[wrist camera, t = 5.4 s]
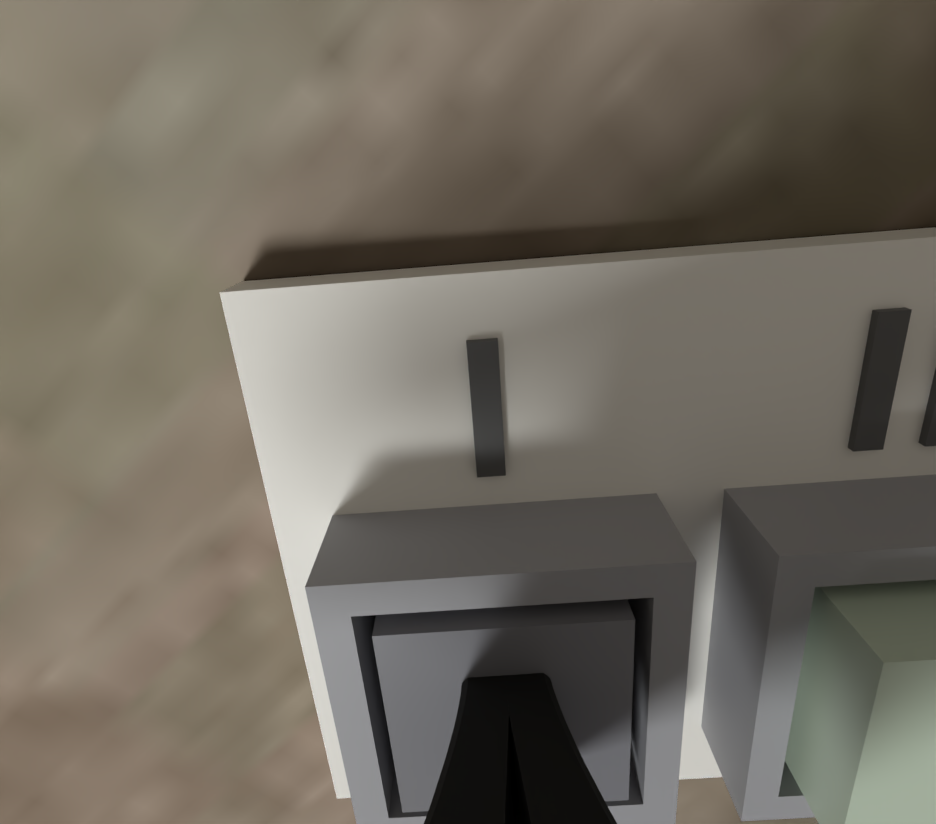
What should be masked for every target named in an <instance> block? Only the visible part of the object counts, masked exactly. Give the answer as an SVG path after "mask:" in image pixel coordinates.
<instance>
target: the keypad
mask: <svg viewBox="0 0 936 824" xmlns="http://www.w3.org/2000/svg"><path fill="white" fill-rule="evenodd" d="M220 297H221V301H222V305H223V310H224V314H225V318H226V323H227V327H228V331H229V335H230V340H231V344H232V348H233V353H234V357H235V361H236V366H237V370H238V374H239V379H240V383H241V387H242V391H243V396H244V400H245V404H246V409H247V413H248V417H249V422H250V426H251V430H252V435H253V439H254V443H255V447H256V452H257V456H258V460H259V465H260V469H261V473H262V478H263V482H264V486H265V491H266V495H267V499H268V503H269V508H270V512H271V516H272V521H273V525H274V529H275V534H276V538H277V542H278V547H279V551H280V555H281V559H282V564H283V568H284V572H285V577H286V581H287V585H288V590H289V594H290V598H291V603H292V607H293V611H294V616H295V620H296V624H297V628H298V633H299V637H300V641H301V646H302V650H303V654H304V659H305V663H306V667H307V672H308V676H309V680H310V684H311V689H312V693H313V697H314V702H315V706H316V710H317V715H318V719H319V723H320V728H321V732H322V736H323V740H324V745H325V749H326V753H327V758H328V762H329V766H330V771H331V775H332V779H333V784H334V788H335V792H336V796H337V798H351V800H352V805H353V809H354V814H355V818H356V823H357V824H424V821H425V819H426V816H427V813H428V811H422V812H404V813H403V812H402V806H401V801H400V795H399V789H398V783H397V778H396V772H395V766H394V760H393V755H392V749H391V743H390V737H389V732H388V726H387V720H386V714H385V709H384V703H383V697H382V691H381V686H380V680H379V674H378V668H377V663H376V657H375V651H374V645H373V640H372V633H373V628H374V623H375V618H376V615H385V614H401V613H417V612H432V611H448V610H464V609H480V608H496V607H511V606H527V605H543V604H559V603H574V602H590V601H606V600H622V599H628V602H629V605H630V607H631V610H632V613H633V615H634V618H635V640H634V667H633V694H632V721H631V748H630V775H629V800H622V801H605V802H606V804H607V806H608V808H609V810H610V812H611V813H612V815H613V817H614V819H615V821H616V822H617V824H675V820H676V808H677V796H678V784H679V779H696V778H714V777H723V779H724V782H725V784H726V786H727V789H728V791H729V793H730V796H731V798H732V800H733V803H734V805H735V808H736V810H737V812H738V815H739V817H740V819H741V821H754V820H773V819H791V818H810V817H815V816H814V814H813V812H812V810H811V808H810V807H809V805H808V803H807V801H806V799H805V797H804V795H803V794H802V792H801V790H800V788H799V786H798V784H797V782H796V781H795V779H794V777H793V775H792V773H791V771H790V769H789V768H788V766H787V764H786V762H785V756H786V751H787V745H788V739H789V733H790V728H791V722H792V716H793V711H794V705H795V699H796V693H797V688H798V682H799V676H800V670H801V665H802V659H803V653H804V648H805V642H806V636H807V630H808V625H809V619H810V613H811V608H812V602H813V596H814V590H815V587H827V586H843V585H859V584H874V583H890V582H906V581H922V580H936V227H932V228H919V229H906V230H893V231H880V232H867V233H855V234H842V235H829V236H816V237H803V238H791V239H778V240H765V241H752V242H739V243H726V244H714V245H701V246H688V247H675V248H662V249H650V250H637V251H624V252H611V253H598V254H585V255H573V256H560V257H547V258H534V259H521V260H509V261H496V262H483V263H470V264H457V265H444V266H432V267H419V268H406V269H393V270H380V271H368V272H355V273H342V274H329V275H316V276H303V277H291V278H278V279H265V280H252V281H242V282H240V283H238V284H236V285H234V286H232V287H230V288H228V289H226V290H223V291H221V292H220Z"/></svg>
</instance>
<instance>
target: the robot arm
mask: <svg viewBox="0 0 936 824" xmlns="http://www.w3.org/2000/svg"><path fill="white" fill-rule="evenodd" d="M424 824H617V822H616V821H615V819H614V817H613V815H612V813H611V812H610V810H609V808H608V806H607V804H606V802H605V800H604V799H603V797H602V795H601V793H600V791H599V789H598V787H597V785H596V783H595V781H594V779H593V778H592V776H591V774H590V772H589V770H588V768H587V766H586V764H585V762H584V760H583V758H582V756H581V754H580V752H579V750H578V747H577V745H576V743H575V741H574V739H573V736H572V734H571V732H570V730H569V728H568V725H567V723H566V721H565V718H564V716H563V713H562V711H561V708H560V706H559V703H558V700H557V698H556V695H555V692H554V689H553V686H552V682H551V679H550V678H549V677H548V676H547V675H546V674H544V673H534V674H519V675H503V676H486V677H469V678H467V679H466V680H465V681H464V682H463V683H462V686H461V695H460V701H459V706H458V711H457V716H456V720H455V725H454V729H453V733H452V736H451V740H450V744H449V747H448V751H447V755H446V758H445V761H444V764H443V768H442V771H441V774H440V777H439V780H438V783H437V786H436V789H435V792H434V796H433V799H432V802H431V805H430V808H429V810H428V813H427V816H426V819H425V821H424Z"/></svg>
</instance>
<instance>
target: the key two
mask: <svg viewBox="0 0 936 824" xmlns="http://www.w3.org/2000/svg"><path fill="white" fill-rule="evenodd" d="M785 762H786V764H787V766H788V768H789V769H790V771H791V773H792V775H793V777H794V779H795V781H796V782H797V784H798V786H799V788H800V790H801V792H802V794H803V795H804V797H805V799H806V801H807V803H808V805H809V807H810V808H811V810H812V812H813V814H814V816H815V818H816V819H817V821H818V823H819V824H936V580H922V581H906V582H890V583H874V584H859V585H843V586H827V587H815V590H814V596H813V602H812V608H811V613H810V619H809V625H808V630H807V636H806V642H805V648H804V653H803V659H802V665H801V670H800V676H799V682H798V688H797V693H796V699H795V705H794V711H793V716H792V722H791V728H790V733H789V739H788V745H787V751H786V756H785Z"/></svg>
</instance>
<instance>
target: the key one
mask: <svg viewBox="0 0 936 824" xmlns="http://www.w3.org/2000/svg"><path fill="white" fill-rule="evenodd" d="M372 640H373V645H374V651H375V657H376V663H377V668H378V674H379V680H380V686H381V691H382V697H383V703H384V709H385V714H386V720H387V726H388V732H389V737H390V743H391V749H392V755H393V760H394V766H395V772H396V778H397V783H398V789H399V795H400V801H401V806H402V812H403V813H404V812H422V811H428V810H429V808H430V805H431V802H432V799H433V796H434V792H435V789H436V786H437V783H438V780H439V777H440V774H441V771H442V768H443V764H444V761H445V758H446V755H447V751H448V747H449V744H450V740H451V736H452V733H453V729H454V725H455V720H456V716H457V711H458V706H459V701H460V695H461V686H462V683H463V682H464V681H465V680H466V679H467V678H469V677H486V676H503V675H519V674H534V673H544V674H546V675H547V676H548V677H549V678H550V679H551V682H552V686H553V689H554V692H555V695H556V698H557V700H558V703H559V706H560V708H561V711H562V713H563V716H564V718H565V721H566V723H567V725H568V728H569V730H570V732H571V734H572V736H573V739H574V741H575V743H576V745H577V747H578V750H579V752H580V754H581V756H582V758H583V760H584V762H585V764H586V766H587V768H588V770H589V772H590V774H591V776H592V778H593V779H594V781H595V783H596V785H597V787H598V789H599V791H600V793H601V795H602V797H603V799H604V800H605V801H622V800H629V775H630V748H631V721H632V694H633V667H634V640H635V618H634V615H633V613H632V610H631V607H630V605H629V602H628V599H622V600H606V601H590V602H574V603H559V604H543V605H527V606H511V607H496V608H480V609H464V610H448V611H432V612H417V613H401V614H385V615H376V618H375V623H374V628H373V633H372Z"/></svg>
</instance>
